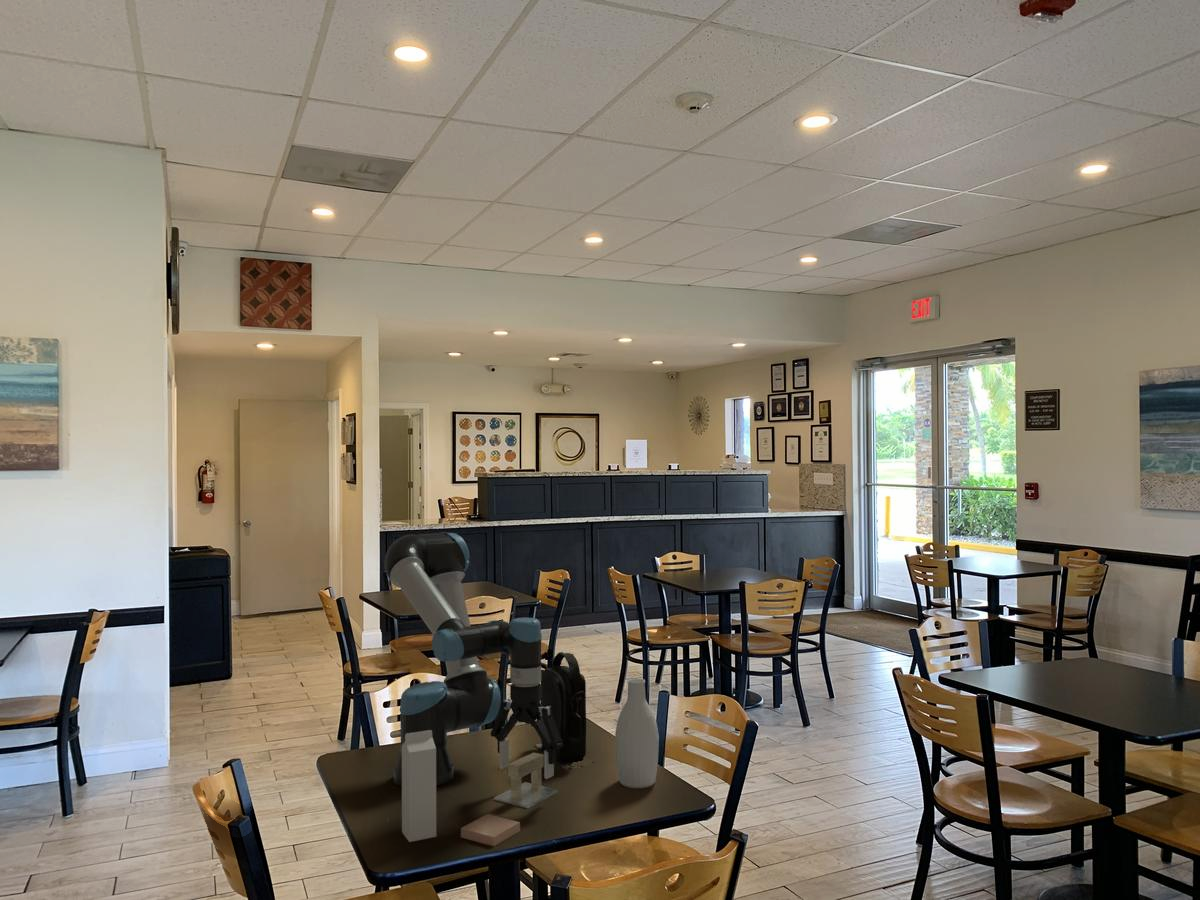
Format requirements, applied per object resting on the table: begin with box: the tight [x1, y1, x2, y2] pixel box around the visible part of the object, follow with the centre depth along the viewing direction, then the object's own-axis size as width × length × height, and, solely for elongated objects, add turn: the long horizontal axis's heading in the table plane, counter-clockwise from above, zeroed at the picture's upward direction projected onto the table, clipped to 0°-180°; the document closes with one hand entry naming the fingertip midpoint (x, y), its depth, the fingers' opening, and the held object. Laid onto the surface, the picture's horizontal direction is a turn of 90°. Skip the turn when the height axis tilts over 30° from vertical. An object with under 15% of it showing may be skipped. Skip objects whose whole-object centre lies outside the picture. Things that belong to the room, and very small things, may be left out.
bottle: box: [614, 678, 660, 789], centre depth 219 cm, size 11×11×25 cm
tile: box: [460, 813, 521, 847], centre depth 188 cm, size 9×2×9 cm
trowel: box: [493, 752, 559, 810], centre depth 210 cm, size 12×10×9 cm
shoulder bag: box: [535, 651, 587, 771], centre depth 241 cm, size 23×9×28 cm, turn 25°
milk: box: [401, 730, 437, 843], centre depth 189 cm, size 6×6×22 cm
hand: (526, 772), depth 210 cm, fingers open, 13 cm apart
